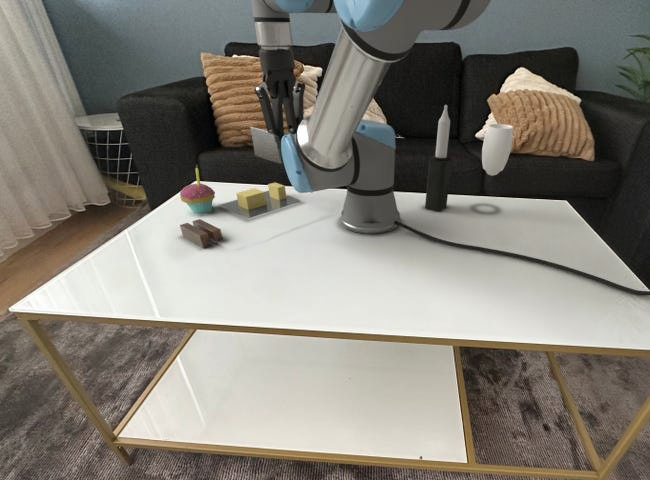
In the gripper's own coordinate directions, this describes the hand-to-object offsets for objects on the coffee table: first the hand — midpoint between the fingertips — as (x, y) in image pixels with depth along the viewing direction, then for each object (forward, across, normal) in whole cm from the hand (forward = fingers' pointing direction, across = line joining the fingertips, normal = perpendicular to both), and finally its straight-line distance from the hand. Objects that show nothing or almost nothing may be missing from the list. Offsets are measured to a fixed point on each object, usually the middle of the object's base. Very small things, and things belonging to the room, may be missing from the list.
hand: (290, 163), depth 104 cm
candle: (+12, -29, +27) cm, 41 cm away
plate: (+12, +5, -10) cm, 16 cm away
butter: (+11, +7, -10) cm, 17 cm away
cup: (+12, -38, +38) cm, 55 cm away
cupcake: (+12, +19, -17) cm, 28 cm away
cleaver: (+1, 0, -5) cm, 5 cm away
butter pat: (+11, -2, -10) cm, 15 cm away
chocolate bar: (+12, +28, -1) cm, 30 cm away
